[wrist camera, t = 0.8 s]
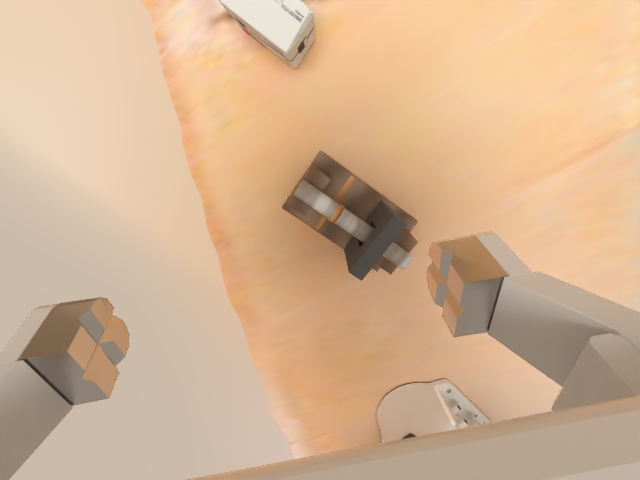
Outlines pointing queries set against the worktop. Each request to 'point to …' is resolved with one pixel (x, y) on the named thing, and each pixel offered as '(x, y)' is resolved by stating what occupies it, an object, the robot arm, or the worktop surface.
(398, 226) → the dark grey flat slab
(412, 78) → the worktop surface
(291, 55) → the ink box
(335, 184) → the pipe stand
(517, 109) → the worktop surface
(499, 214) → the worktop surface
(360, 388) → the worktop surface
